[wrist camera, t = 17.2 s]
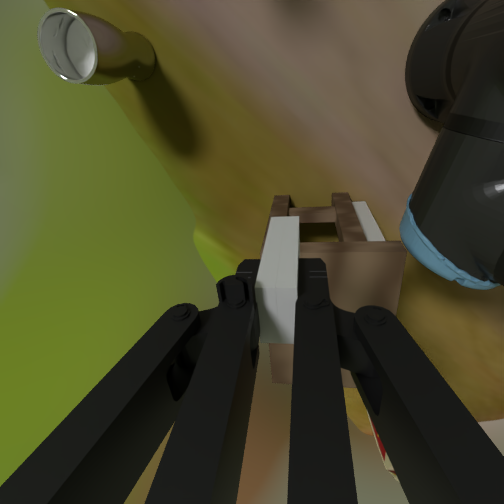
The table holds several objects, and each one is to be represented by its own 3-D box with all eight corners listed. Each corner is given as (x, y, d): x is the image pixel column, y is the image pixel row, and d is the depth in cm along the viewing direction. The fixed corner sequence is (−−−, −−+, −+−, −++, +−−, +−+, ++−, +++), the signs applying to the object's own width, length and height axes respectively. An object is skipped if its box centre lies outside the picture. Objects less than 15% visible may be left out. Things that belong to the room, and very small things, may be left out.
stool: (370, 191, 49) (406, 251, 32) (360, 300, 59) (383, 389, 42) (274, 195, 52) (260, 253, 34) (280, 298, 62) (272, 382, 45)
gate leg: (365, 201, 49) (389, 248, 35) (357, 301, 59) (374, 368, 45) (349, 202, 50) (366, 248, 36) (344, 301, 59) (357, 368, 46)
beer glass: (109, 70, 46) (33, 67, 33) (118, 18, 42) (36, -10, 29) (152, 92, 46) (93, 97, 33) (164, 42, 43) (104, 26, 30)
